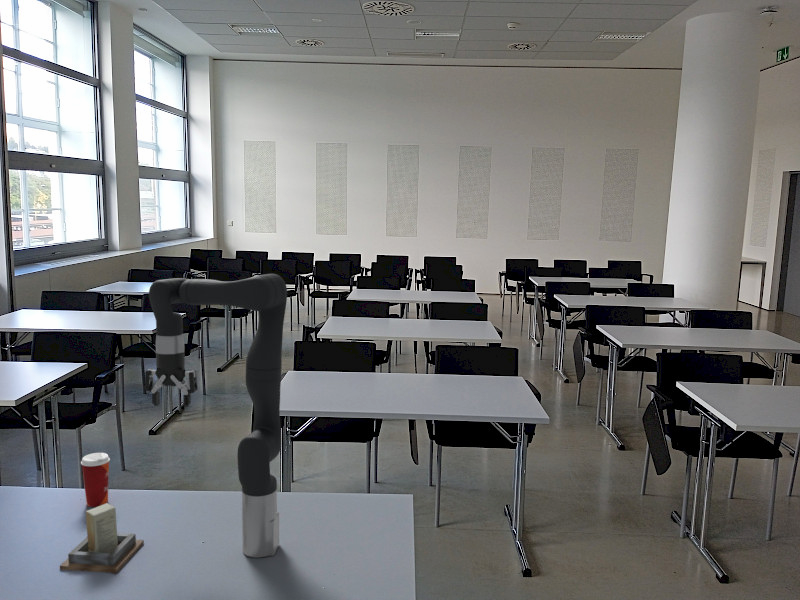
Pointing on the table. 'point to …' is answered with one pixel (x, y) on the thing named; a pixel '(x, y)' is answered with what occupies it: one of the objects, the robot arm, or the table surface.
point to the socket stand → (102, 556)
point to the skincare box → (102, 529)
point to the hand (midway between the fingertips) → (171, 406)
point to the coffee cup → (96, 478)
